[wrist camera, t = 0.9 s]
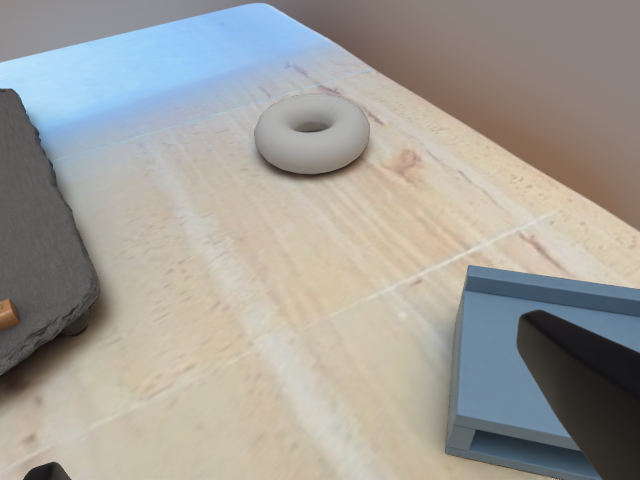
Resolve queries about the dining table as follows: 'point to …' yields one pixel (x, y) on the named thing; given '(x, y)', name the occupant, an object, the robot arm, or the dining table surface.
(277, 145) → the donut
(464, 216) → the dining table surface
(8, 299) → the serving tray
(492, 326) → the riser
